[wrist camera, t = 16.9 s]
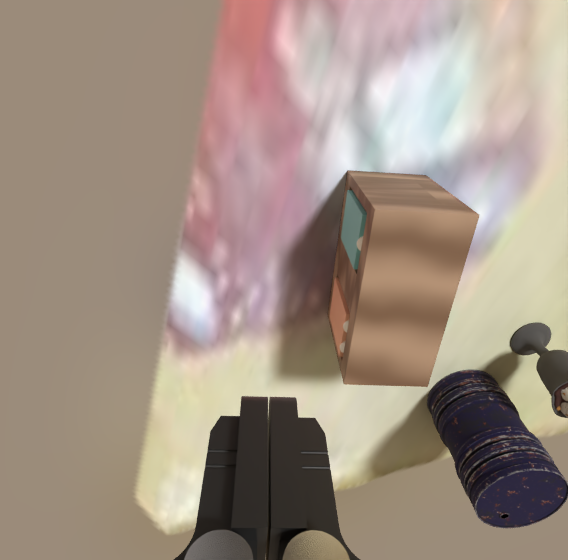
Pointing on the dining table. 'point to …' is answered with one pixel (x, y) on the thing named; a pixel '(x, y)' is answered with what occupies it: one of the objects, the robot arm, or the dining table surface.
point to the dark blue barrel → (495, 452)
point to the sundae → (545, 362)
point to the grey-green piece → (353, 227)
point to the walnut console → (400, 277)
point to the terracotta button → (339, 316)
